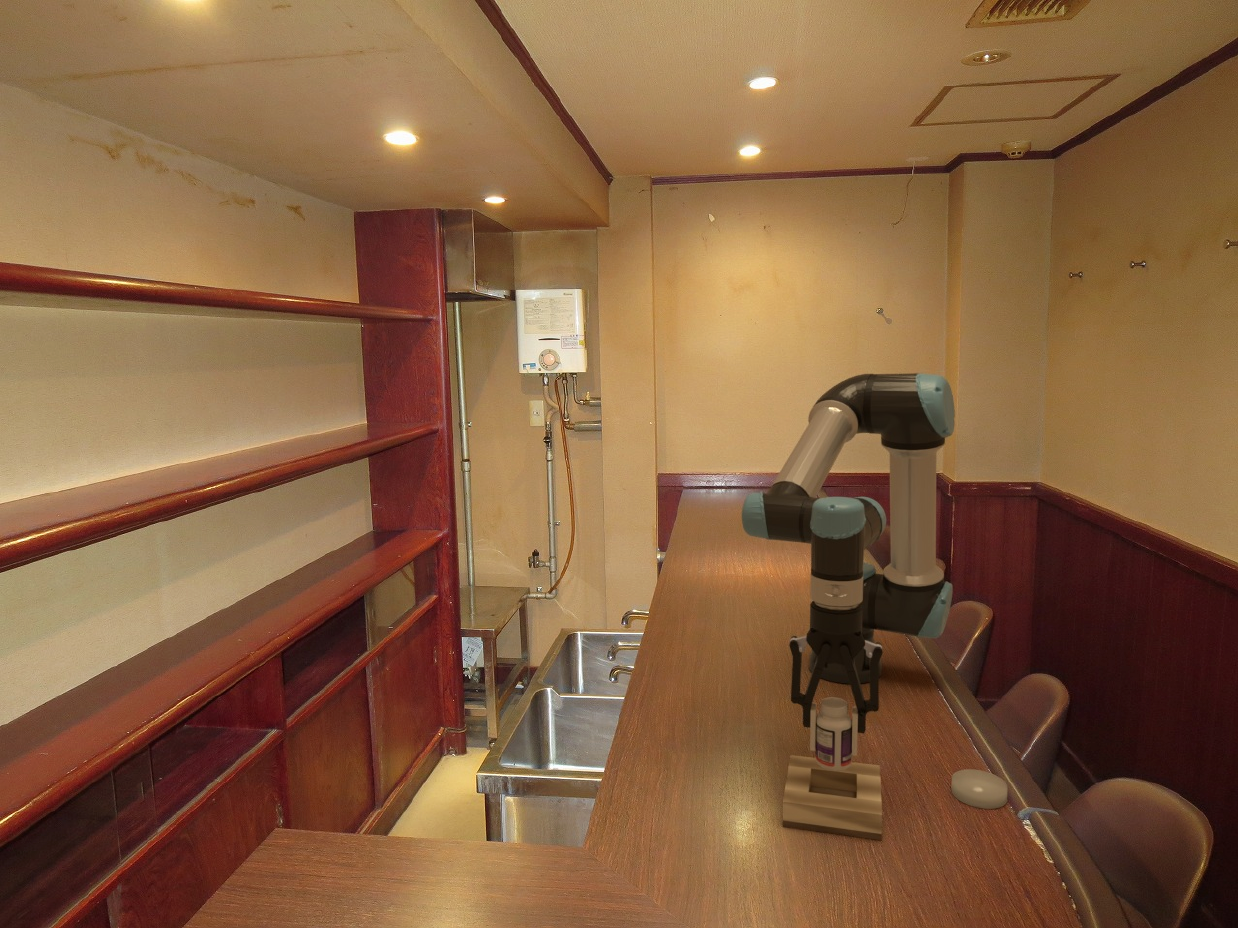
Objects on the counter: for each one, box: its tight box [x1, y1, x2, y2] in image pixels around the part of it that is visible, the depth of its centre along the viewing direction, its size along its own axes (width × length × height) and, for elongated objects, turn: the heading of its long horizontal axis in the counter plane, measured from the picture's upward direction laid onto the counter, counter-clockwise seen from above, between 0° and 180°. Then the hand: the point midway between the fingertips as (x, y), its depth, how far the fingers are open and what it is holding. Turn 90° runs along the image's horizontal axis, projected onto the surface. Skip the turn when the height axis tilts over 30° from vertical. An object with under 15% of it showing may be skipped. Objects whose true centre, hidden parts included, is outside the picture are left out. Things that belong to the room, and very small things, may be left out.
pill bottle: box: [815, 696, 853, 771], centre depth 124 cm, size 5×5×10 cm
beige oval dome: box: [950, 768, 1008, 810], centre depth 128 cm, size 8×8×2 cm
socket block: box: [782, 754, 883, 841], centre depth 126 cm, size 14×14×4 cm
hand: (833, 748), depth 124 cm, fingers closed on pill bottle, 5 cm apart
